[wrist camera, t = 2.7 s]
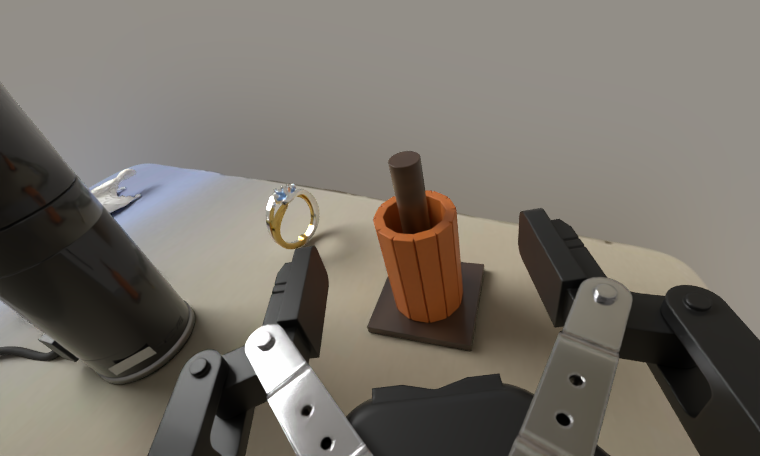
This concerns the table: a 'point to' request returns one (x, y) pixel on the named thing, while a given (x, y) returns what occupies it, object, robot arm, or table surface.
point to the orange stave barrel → (422, 260)
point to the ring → (284, 198)
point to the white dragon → (114, 192)
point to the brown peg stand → (462, 320)
